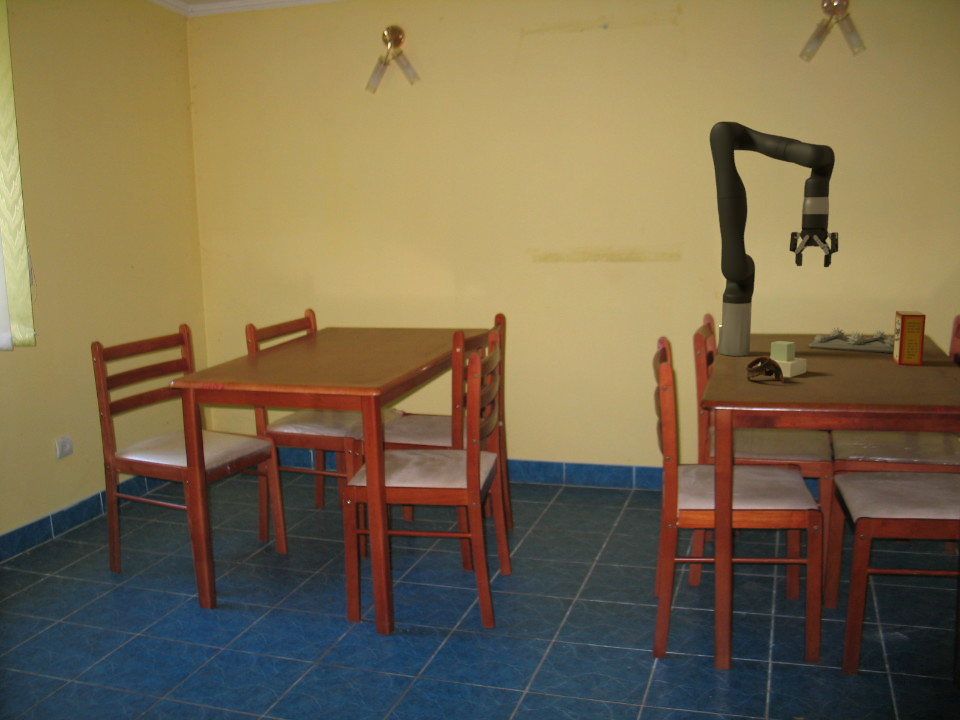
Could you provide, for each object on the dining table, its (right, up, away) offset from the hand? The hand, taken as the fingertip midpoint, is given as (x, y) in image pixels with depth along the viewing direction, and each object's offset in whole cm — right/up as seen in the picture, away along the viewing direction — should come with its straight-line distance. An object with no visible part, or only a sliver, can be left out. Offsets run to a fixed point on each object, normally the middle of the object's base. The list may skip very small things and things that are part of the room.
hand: (812, 266), depth 272 cm
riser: (-12, -32, -9) cm, 36 cm away
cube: (-12, -28, -9) cm, 32 cm away
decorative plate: (+29, -25, +37) cm, 53 cm away
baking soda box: (+31, -30, +4) cm, 43 cm away
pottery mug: (-21, -35, -20) cm, 45 cm away
